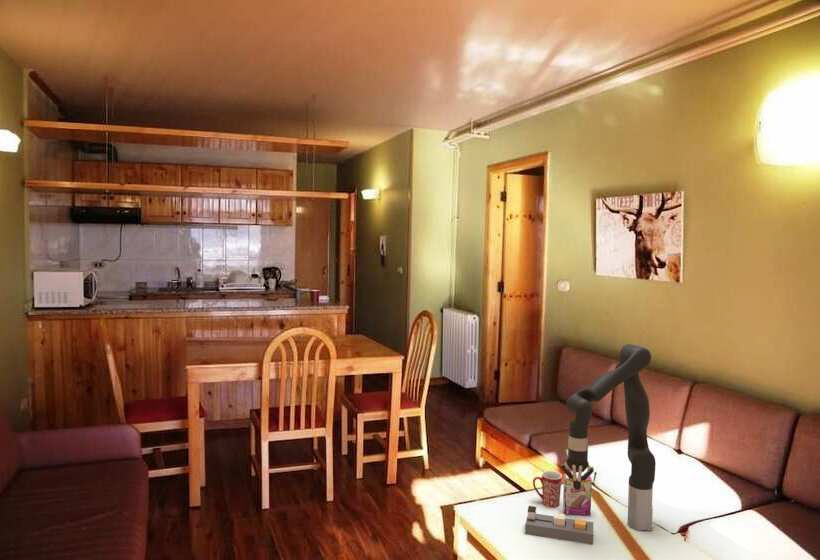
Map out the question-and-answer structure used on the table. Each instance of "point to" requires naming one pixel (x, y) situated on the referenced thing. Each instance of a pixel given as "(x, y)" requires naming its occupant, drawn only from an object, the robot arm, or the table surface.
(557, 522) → the beige button
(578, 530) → the control panel
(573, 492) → the candy bar box
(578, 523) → the amber button
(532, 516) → the slide switch
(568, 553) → the table surface
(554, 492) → the mug
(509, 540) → the table surface
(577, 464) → the robot arm
